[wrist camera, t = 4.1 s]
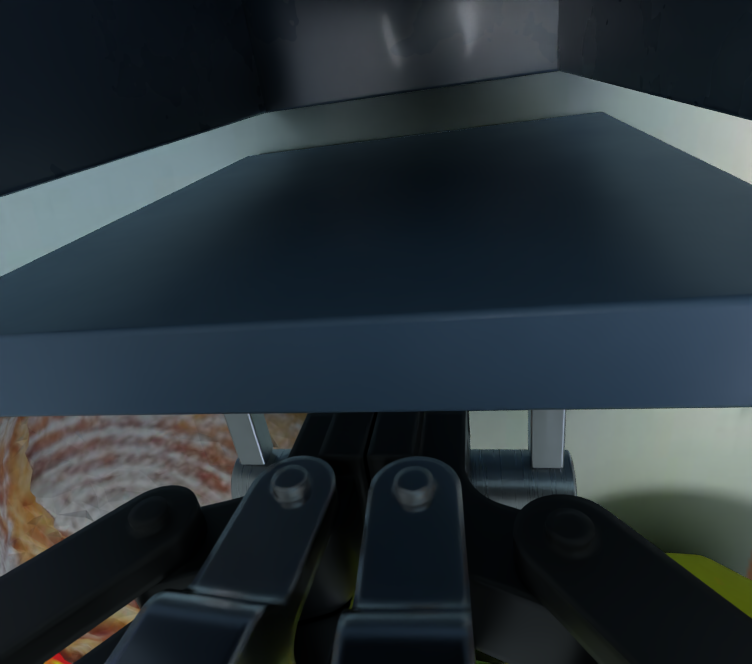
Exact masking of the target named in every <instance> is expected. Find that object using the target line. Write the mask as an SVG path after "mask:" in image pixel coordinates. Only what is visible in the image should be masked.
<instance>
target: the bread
mask: <svg viewBox="0 0 752 664" xmlns="http://www.w3.org/2000/svg"><path fill="white" fill-rule="evenodd" d="M307 414H309V413H264V417H265V420H266V423H267V427H268V430H269V433H270V437H271V440H272V443H273V449H292V447H293V445H294V442H295V440H296V438H297V436H298V434H299V431H300V429H301V427H302V425H303V423H304V420H305V418H306V416H307ZM237 458H238V455H237V452H236V449H235V447H234V444H233V441H232V438H231V435H230V432H229V429H228V426H227V423H226V421H225V418H224V415H223V414H184V415H106V416H28V417H0V577H1V576H2V575H4V574H6V573H7V572H9V571H11V570H13V569H14V568H16V567H18V566H19V565H21V564H23V563H24V562H26V561H28V560H30V559H31V558H33V557H35V556H36V555H38V554H40V553H41V552H43V551H45V550H46V549H48V548H50V547H52V546H53V545H55V544H57V543H58V542H60V541H62V540H63V539H65V538H67V537H69V536H70V535H72V534H74V533H75V532H77V531H79V530H80V529H82V528H84V527H85V526H87V525H89V524H91V523H92V522H94V521H96V520H97V519H99V518H101V517H102V516H104V515H106V514H108V513H109V512H111V511H113V510H114V509H116V508H118V507H119V506H121V505H123V504H124V503H126V502H128V501H130V500H131V499H133V498H135V497H136V496H138V495H140V494H142V493H144V492H146V491H149V490H151V489H154V488H158V487H162V486H168V485H179V486H184V487H186V488H188V489H190V490H191V491H193V492H194V494H195V495H196V497H197V500H198V502H199V505H200V507H202V506H206V505H210V504H214V503H219V502H223V501H227V500H231V499H232V495H231V478H232V472H233V468H234V465H235V462H236V460H237ZM139 611H140V608H139V606H138V604H137V603H136V601H135V600H133V601H132V602H130V603H129V604H127V605H126V606H125V607H123V608H122V609H120V610H119V611H117V612H116V613H115V614H113V615H112V616H110V617H109V618H107V619H106V620H105V621H103V622H102V623H100V624H99V625H98V626H96V627H95V628H93V629H92V630H90V631H89V632H88V633H86V634H85V635H83V636H82V637H80V638H79V639H78V640H76V641H75V642H73V643H72V644H70V645H69V646H68V647H66V648H65V649H63V650H62V651H60V652H59V653H60V654H61V655H62V657H63V658H64V660H66V661H68V662H70V663H71V664H73V663H74V662H76V661H77V660H78V659H80V658H81V657H83V656H84V655H85V654H87V653H88V652H90V651H91V650H92V649H94V648H95V647H96V646H98V645H99V644H101V643H102V642H103V641H105V640H106V639H108V638H109V637H110V636H112V635H113V634H114V633H116V632H117V631H119V630H120V629H121V628H123V627H124V626H126V625H127V624H128V623H130V622H131V621H132V620H134V618H135V617H136V615H137V614H138V612H139Z"/></svg>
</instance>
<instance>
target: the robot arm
mask: <svg viewBox="0 0 752 664" xmlns="http://www.w3.org/2000/svg"><path fill="white" fill-rule="evenodd" d="M133 600H135V601H136V603H137V604H138V606H139V608H140V611H139V612H138V614H137V615H136V617H135V618H134V620H132V621H131V622H130V623H128V624H127V625H126V626H124V627H123V628H121V629H120V630H119V631H117V632H116V633H114V634H113V635H112V636H110V637H109V638H108V639H106V640H105V641H103V642H102V643H101V644H99V645H98V646H96V647H95V648H94V649H92V650H91V651H90V652H88V653H87V654H85V655H84V656H83V657H81V658H80V659H78V660H77V661H76V662H74V663H73V664H476V656H475V649H476V650H479V651H481V652H483V653H485V654H488V655H490V656H492V657H494V658H497V659H499V660H501V661H503V662H506V663H508V664H752V618H751V617H749V616H748V615H747V614H745V613H744V612H743V611H741V610H740V609H739V608H737V607H736V606H735V605H733V604H732V603H731V602H729V601H728V600H727V599H725V598H724V597H723V596H721V595H720V594H719V593H717V592H716V591H715V590H713V589H712V588H711V587H709V586H708V585H707V584H705V583H704V582H703V581H701V580H700V579H699V578H697V577H696V576H695V575H693V574H692V573H691V572H689V571H688V570H687V569H685V568H684V567H683V566H681V565H680V564H679V563H677V562H676V561H675V560H673V559H672V558H671V557H669V556H668V555H667V554H665V553H664V552H663V551H661V550H660V549H659V548H657V547H656V546H655V545H653V544H652V543H651V542H649V541H648V540H647V539H645V538H644V537H643V536H641V535H640V534H639V533H637V532H636V531H635V530H633V529H632V528H631V527H629V526H628V525H627V524H625V523H624V522H623V521H621V520H620V519H619V518H617V517H616V516H615V515H613V514H612V513H611V512H609V511H608V510H606V509H605V508H603V507H602V506H600V505H599V504H597V503H595V502H593V501H591V500H588V499H585V498H582V497H578V496H574V495H566V494H553V495H546V496H542V497H539V498H536V499H534V500H532V501H530V502H529V503H528V504H526V505H525V506H524V507H523V508H522V509H517V508H514V507H510V506H507V505H504V504H501V503H498V502H495V501H493V500H491V499H489V498H487V497H486V496H484V495H483V494H481V493H480V492H479V491H478V490H477V489H476V488H475V487H474V486H473V485H472V484H471V482H470V426H469V411H418V412H340V413H309V414H307V416H306V418H305V420H304V423H303V425H302V427H301V429H300V431H299V434H298V436H297V438H296V440H295V442H294V445H293V447H292V449H291V451H290V454H289V456H288V458H286V459H283V460H280V461H278V462H276V463H274V464H272V465H270V466H269V467H267V468H266V469H264V470H263V471H262V472H261V473H260V474H259V475H258V476H257V477H256V478H255V480H254V481H253V482H252V484H251V486H250V487H249V489H248V491H247V492H246V494H245V496H242V497H239V498H235V499H231V500H227V501H223V502H219V503H214V504H210V505H206V506H202V507H200V505H199V502H198V500H197V497H196V495H195V494H194V492H193V491H191V490H190V489H188V488H186V487H184V486H179V485H168V486H162V487H158V488H154V489H151V490H149V491H146V492H144V493H142V494H140V495H138V496H136V497H135V498H133V499H131V500H130V501H128V502H126V503H124V504H123V505H121V506H119V507H118V508H116V509H114V510H113V511H111V512H109V513H108V514H106V515H104V516H102V517H101V518H99V519H97V520H96V521H94V522H92V523H91V524H89V525H87V526H85V527H84V528H82V529H80V530H79V531H77V532H75V533H74V534H72V535H70V536H69V537H67V538H65V539H63V540H62V541H60V542H58V543H57V544H55V545H53V546H52V547H50V548H48V549H46V550H45V551H43V552H41V553H40V554H38V555H36V556H35V557H33V558H31V559H30V560H28V561H26V562H24V563H23V564H21V565H19V566H18V567H16V568H14V569H13V570H11V571H9V572H7V573H6V574H4V575H2V576H1V577H0V664H44V663H45V662H46V661H48V660H49V659H50V658H52V657H53V656H55V655H56V654H58V653H59V652H60V651H62V650H63V649H65V648H66V647H68V646H69V645H70V644H72V643H73V642H75V641H76V640H78V639H79V638H80V637H82V636H83V635H85V634H86V633H88V632H89V631H90V630H92V629H93V628H95V627H96V626H98V625H99V624H100V623H102V622H103V621H105V620H106V619H107V618H109V617H110V616H112V615H113V614H115V613H116V612H117V611H119V610H120V609H122V608H123V607H125V606H126V605H127V604H129V603H130V602H132V601H133Z"/></svg>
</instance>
